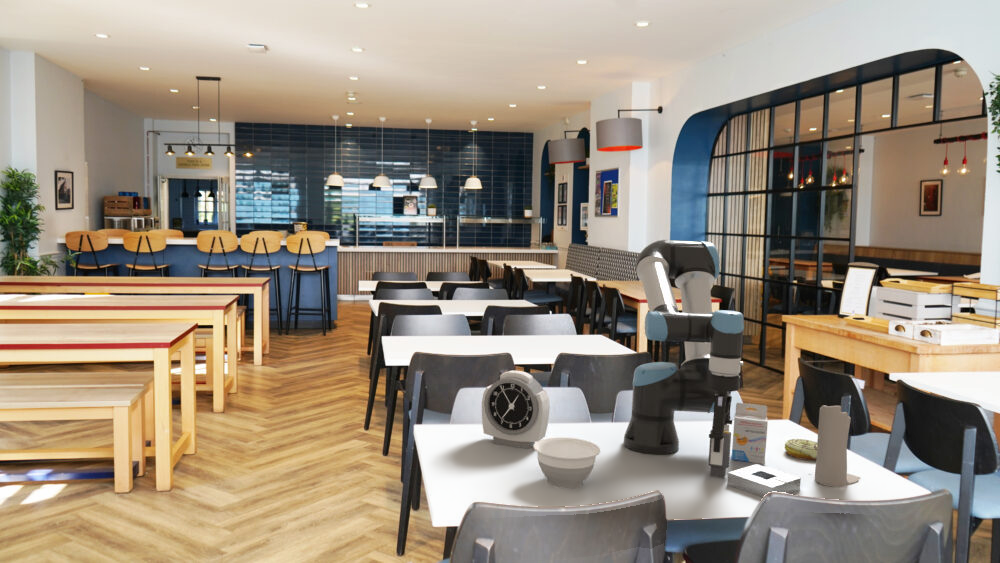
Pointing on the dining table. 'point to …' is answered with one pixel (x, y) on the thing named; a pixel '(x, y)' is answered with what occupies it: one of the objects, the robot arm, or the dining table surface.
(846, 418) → the grey boot shape
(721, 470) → the grey rectangular block
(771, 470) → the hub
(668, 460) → the dining table surface
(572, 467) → the bowl
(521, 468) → the dining table surface
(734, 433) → the ink box
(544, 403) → the alarm clock
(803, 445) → the decorated donut
